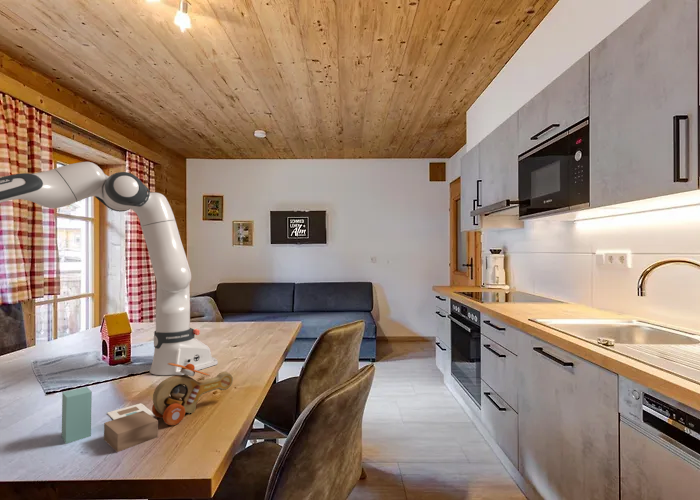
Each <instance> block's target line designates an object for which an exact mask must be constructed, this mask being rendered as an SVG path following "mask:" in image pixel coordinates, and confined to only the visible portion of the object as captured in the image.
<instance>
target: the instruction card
mask: <svg viewBox="0 0 700 500" xmlns="http://www.w3.org/2000/svg"><path fill="white" fill-rule="evenodd" d="M141 411H144V412H146V413H147V414H149V415H150V416H152V417H153V418H155V417H156V416H155V415H154V414H153V412H152V409H149V408H148V407H147V406H146V405H144V404H143V403H141V402H140V403H137V404H133V405H130V406H126V407H122V408H119V409H118V408H117V409H116V410H115V409H114V410H112V411H109V412H106V414H107V415H108V416H109V417H110V418H111V419H112V420H115V419H118V418H121V417H125V416H128V415H131V414H134V413H137V412H141Z"/></svg>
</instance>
